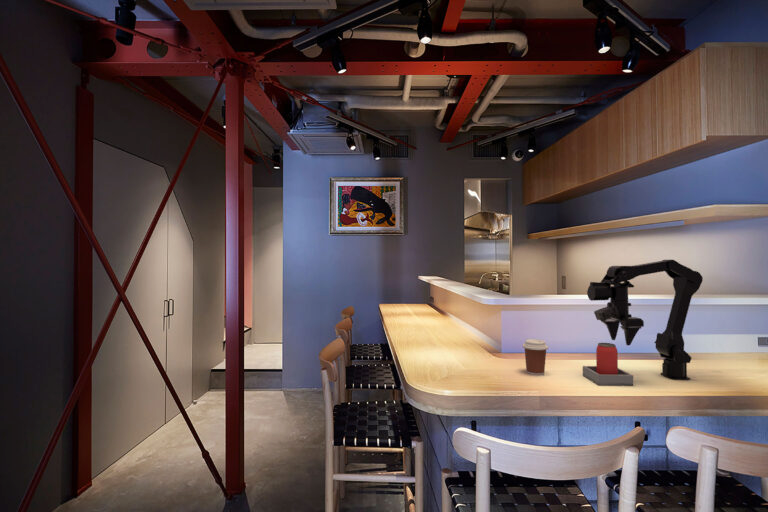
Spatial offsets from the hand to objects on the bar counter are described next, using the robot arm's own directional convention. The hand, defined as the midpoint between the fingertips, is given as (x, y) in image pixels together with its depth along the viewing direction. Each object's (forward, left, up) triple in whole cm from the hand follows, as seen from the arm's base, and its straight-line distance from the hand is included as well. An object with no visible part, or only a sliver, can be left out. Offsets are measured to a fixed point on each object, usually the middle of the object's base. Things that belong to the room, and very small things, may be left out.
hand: (620, 342), depth 145 cm
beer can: (+7, +5, -12) cm, 15 cm away
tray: (+7, +5, -13) cm, 15 cm away
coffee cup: (+29, -4, -13) cm, 32 cm away
